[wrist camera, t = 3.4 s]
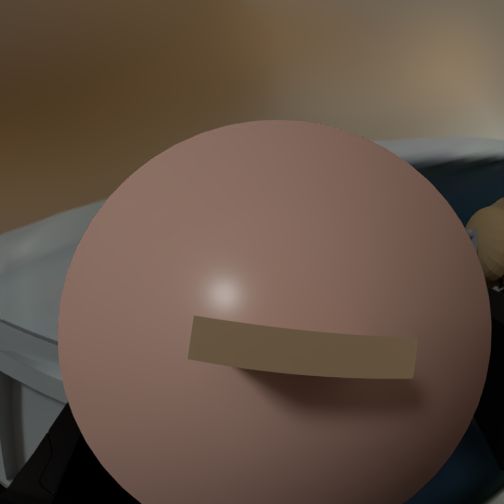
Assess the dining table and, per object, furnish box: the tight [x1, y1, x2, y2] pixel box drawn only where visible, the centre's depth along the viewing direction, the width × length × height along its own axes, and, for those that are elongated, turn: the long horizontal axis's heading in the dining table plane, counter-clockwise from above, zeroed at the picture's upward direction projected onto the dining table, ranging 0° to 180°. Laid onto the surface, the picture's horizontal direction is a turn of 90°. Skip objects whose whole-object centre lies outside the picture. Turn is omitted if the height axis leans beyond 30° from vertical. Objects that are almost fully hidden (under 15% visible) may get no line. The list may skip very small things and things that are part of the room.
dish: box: [0, 320, 68, 488], centre depth 12 cm, size 14×14×3 cm
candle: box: [58, 120, 491, 504], centre depth 9 cm, size 6×6×14 cm
